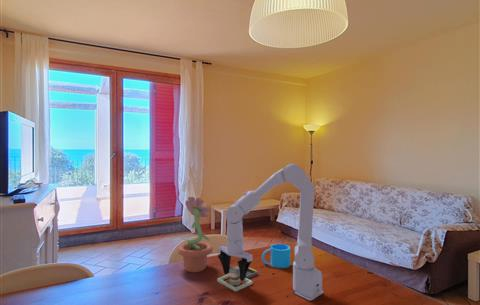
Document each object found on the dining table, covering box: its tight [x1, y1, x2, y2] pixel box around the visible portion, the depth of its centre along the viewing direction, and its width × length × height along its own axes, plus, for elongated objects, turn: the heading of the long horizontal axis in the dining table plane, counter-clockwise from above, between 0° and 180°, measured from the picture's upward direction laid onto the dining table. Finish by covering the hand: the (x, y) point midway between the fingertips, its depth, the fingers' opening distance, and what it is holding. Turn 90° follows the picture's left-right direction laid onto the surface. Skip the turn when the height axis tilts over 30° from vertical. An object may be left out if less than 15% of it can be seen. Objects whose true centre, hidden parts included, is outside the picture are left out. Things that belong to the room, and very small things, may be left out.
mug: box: [261, 243, 291, 269], centre depth 117 cm, size 12×8×8 cm
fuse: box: [228, 265, 241, 286], centre depth 100 cm, size 4×4×6 cm
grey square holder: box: [246, 267, 259, 280], centre depth 107 cm, size 6×6×2 cm
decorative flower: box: [177, 196, 213, 273], centre depth 113 cm, size 15×14×30 cm
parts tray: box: [216, 273, 253, 292], centre depth 100 cm, size 10×8×2 cm
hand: (234, 276), depth 100 cm, fingers open, 7 cm apart
